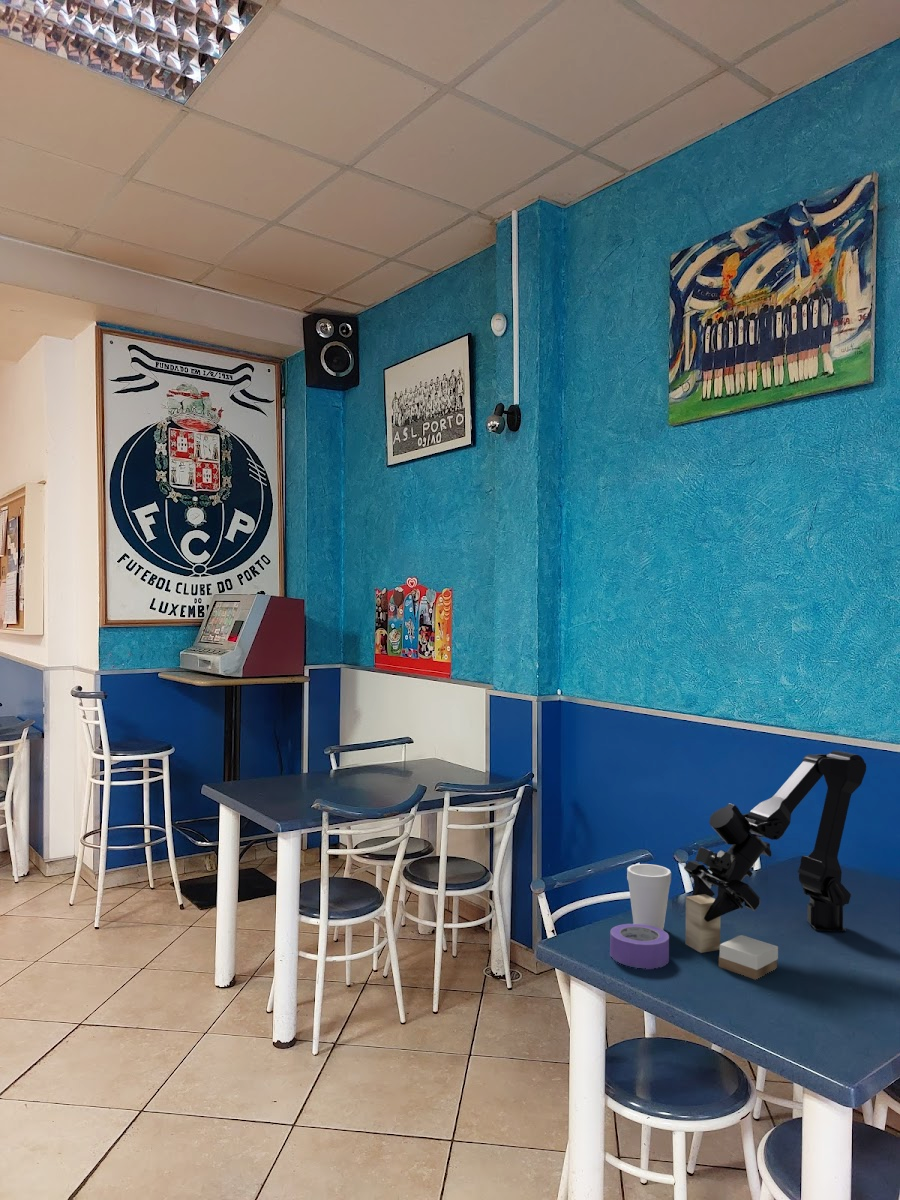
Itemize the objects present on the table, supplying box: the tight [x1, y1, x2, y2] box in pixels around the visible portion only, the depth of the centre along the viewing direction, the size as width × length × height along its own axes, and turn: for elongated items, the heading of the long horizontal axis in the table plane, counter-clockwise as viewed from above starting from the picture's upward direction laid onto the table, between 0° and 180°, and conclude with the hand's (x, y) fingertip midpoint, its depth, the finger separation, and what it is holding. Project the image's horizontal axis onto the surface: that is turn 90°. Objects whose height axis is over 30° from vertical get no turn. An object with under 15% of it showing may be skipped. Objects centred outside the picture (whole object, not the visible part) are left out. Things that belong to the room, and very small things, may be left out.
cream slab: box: [719, 934, 779, 970], centre depth 171 cm, size 8×8×2 cm
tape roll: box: [609, 923, 670, 970], centre depth 176 cm, size 12×12×5 cm
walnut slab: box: [718, 955, 778, 981], centre depth 171 cm, size 8×8×2 cm
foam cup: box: [626, 863, 672, 930], centre depth 191 cm, size 10×9×13 cm
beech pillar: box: [685, 894, 721, 954], centre depth 181 cm, size 5×5×10 cm
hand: (697, 916), depth 181 cm, fingers closed on beech pillar, 5 cm apart
